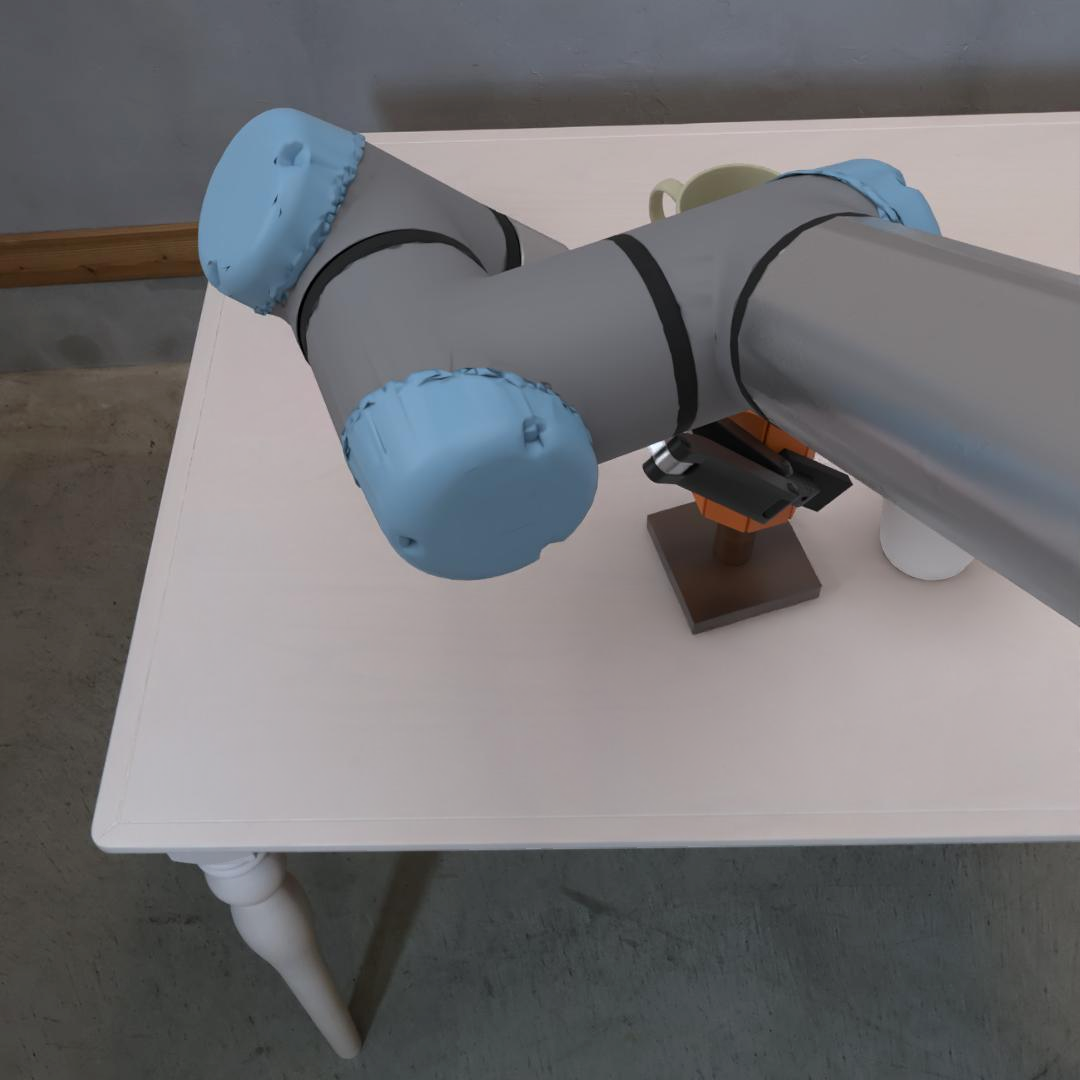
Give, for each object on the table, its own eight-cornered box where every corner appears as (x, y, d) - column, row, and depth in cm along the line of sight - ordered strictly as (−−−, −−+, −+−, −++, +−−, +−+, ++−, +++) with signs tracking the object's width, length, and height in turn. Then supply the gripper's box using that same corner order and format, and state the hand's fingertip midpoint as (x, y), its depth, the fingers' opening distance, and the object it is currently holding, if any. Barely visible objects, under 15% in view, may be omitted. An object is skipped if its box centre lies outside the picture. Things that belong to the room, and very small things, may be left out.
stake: (818, 597, 75) (863, 466, 63) (692, 635, 74) (711, 509, 62) (765, 492, 80) (796, 350, 67) (646, 526, 79) (655, 388, 66)
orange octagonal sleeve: (820, 512, 68) (855, 395, 59) (714, 543, 67) (732, 429, 58) (775, 428, 71) (801, 305, 62) (674, 456, 71) (685, 336, 61)
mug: (781, 277, 91) (804, 155, 81) (783, 371, 86) (808, 254, 76) (645, 272, 92) (651, 151, 82) (639, 365, 87) (644, 248, 77)
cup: (966, 633, 74) (1018, 544, 64) (826, 565, 77) (857, 471, 67) (1021, 524, 78) (1078, 426, 68) (886, 463, 81) (924, 362, 72)
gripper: (432, 239, 59) (700, 366, 75) (543, 541, 49) (827, 615, 64) (523, 131, 55) (786, 289, 71) (664, 434, 45) (935, 541, 61)
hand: (805, 444), depth 68 cm, fingers closed on orange octagonal sleeve, 7 cm apart
